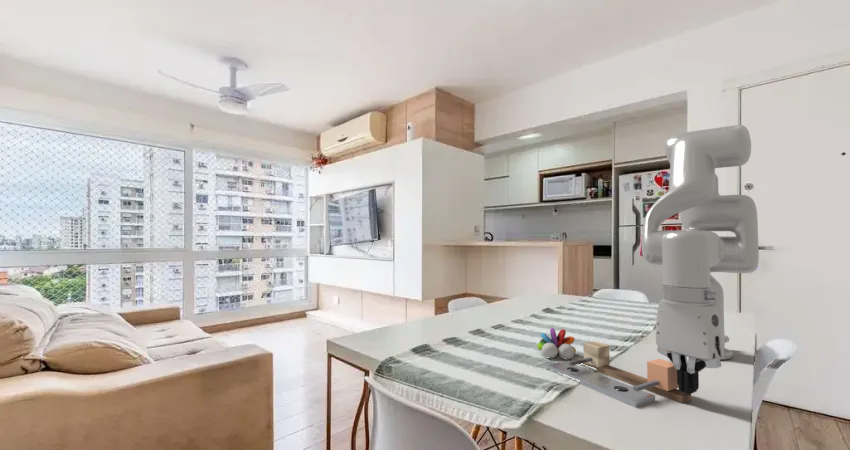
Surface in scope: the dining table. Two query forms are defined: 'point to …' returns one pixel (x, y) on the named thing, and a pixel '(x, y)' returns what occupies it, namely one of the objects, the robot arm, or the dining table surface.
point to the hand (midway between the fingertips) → (687, 391)
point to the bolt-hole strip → (604, 384)
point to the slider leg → (660, 376)
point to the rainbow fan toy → (557, 345)
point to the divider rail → (599, 359)
